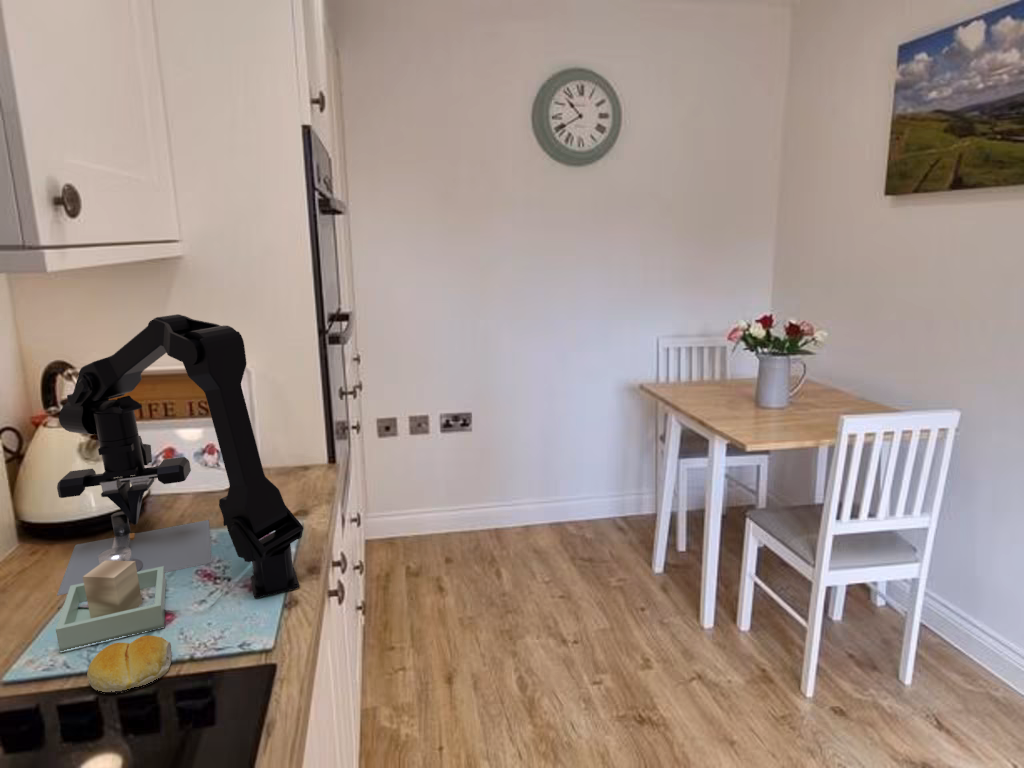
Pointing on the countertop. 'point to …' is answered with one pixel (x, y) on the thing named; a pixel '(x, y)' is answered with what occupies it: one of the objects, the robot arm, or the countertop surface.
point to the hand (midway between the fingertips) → (135, 523)
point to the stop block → (112, 588)
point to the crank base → (146, 551)
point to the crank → (119, 540)
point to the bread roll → (130, 664)
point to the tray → (110, 615)
